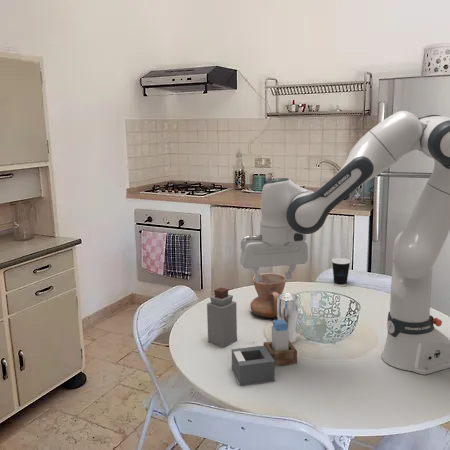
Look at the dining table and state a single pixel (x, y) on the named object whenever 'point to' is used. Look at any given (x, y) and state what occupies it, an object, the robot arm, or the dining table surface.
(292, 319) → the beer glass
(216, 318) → the perfume bottle
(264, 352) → the port
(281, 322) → the plug
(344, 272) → the dixie cup
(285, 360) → the holster
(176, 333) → the dining table surface
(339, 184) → the robot arm
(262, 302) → the ceramic jug
